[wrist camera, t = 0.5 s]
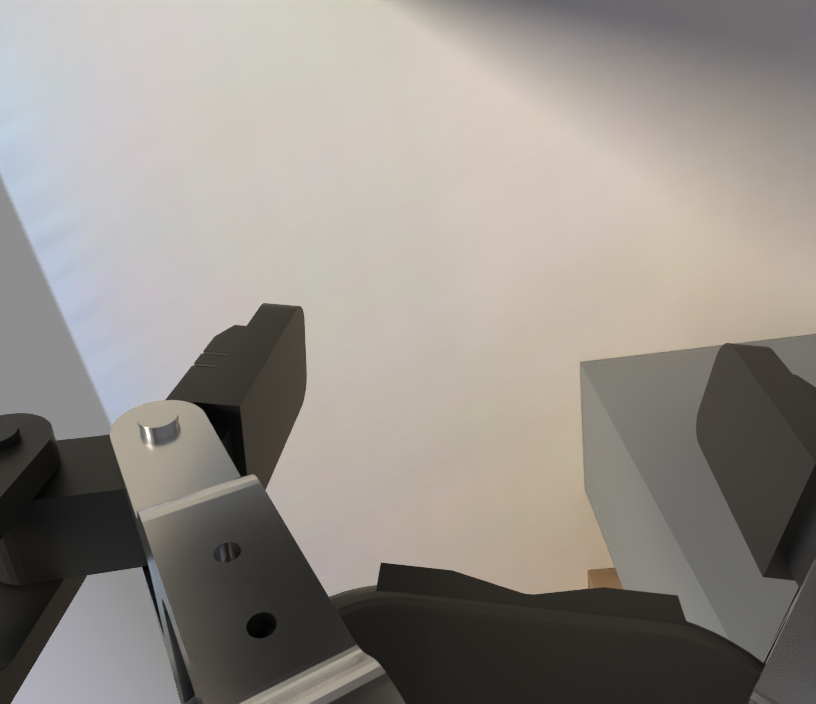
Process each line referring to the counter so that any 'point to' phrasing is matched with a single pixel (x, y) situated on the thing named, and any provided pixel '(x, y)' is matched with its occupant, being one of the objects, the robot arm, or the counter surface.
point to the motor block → (676, 490)
